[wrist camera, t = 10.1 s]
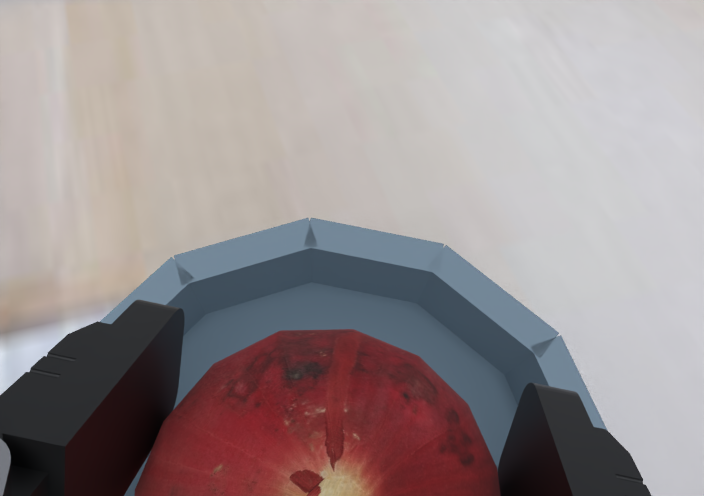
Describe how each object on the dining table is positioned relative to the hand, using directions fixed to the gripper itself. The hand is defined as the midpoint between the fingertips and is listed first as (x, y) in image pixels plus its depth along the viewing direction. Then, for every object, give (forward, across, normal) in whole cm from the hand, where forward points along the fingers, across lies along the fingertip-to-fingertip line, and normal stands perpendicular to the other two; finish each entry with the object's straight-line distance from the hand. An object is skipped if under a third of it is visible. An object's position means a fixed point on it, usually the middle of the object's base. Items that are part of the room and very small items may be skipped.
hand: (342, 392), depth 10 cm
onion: (+2, 0, +4) cm, 5 cm away
